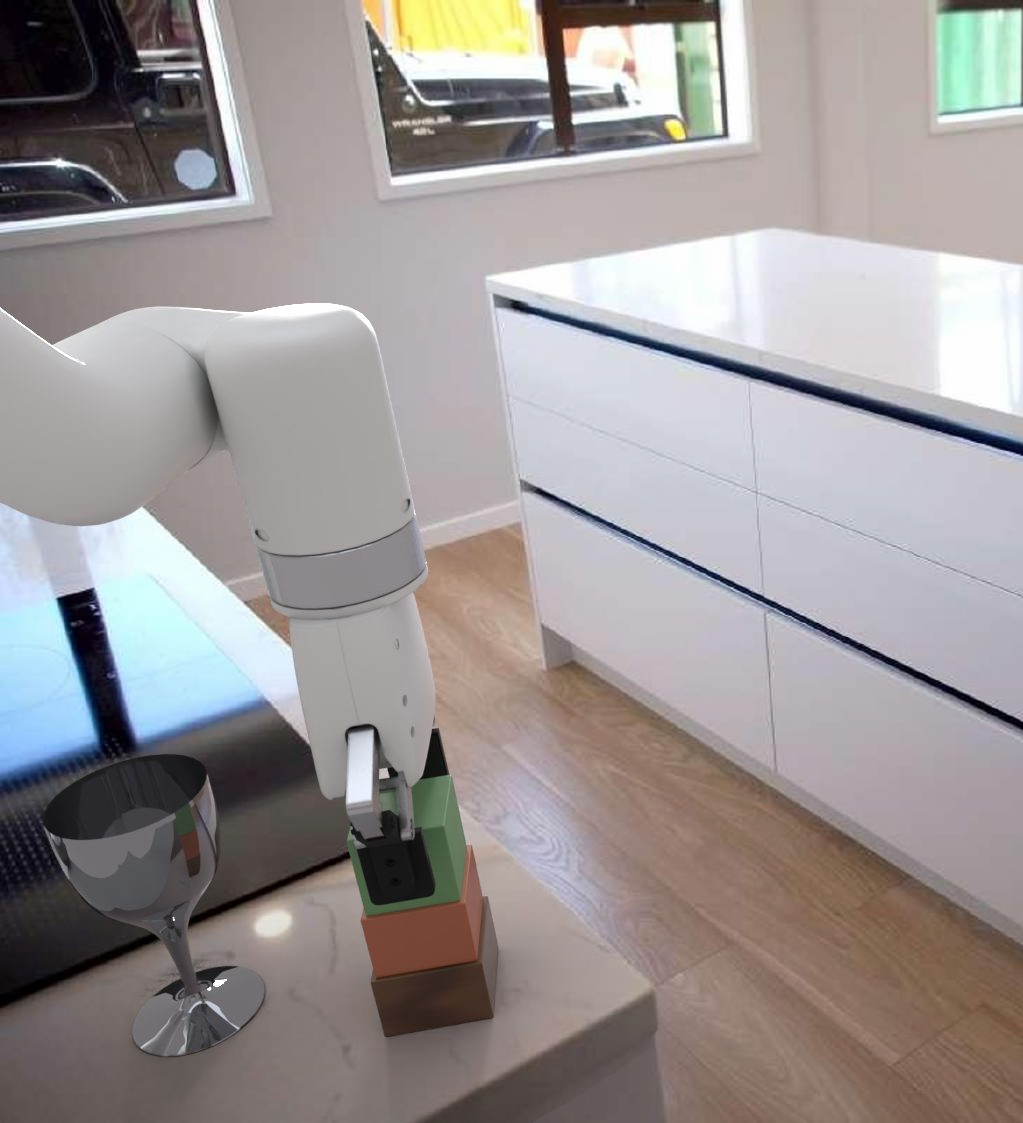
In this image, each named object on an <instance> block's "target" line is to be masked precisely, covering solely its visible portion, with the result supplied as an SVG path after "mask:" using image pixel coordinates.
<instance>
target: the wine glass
mask: <svg viewBox="0 0 1023 1123" xmlns="http://www.w3.org/2000/svg"><path fill="white" fill-rule="evenodd" d="M42 823H43V827H44V831H45V834H46V837H47V840H48V842H49V845H50V848H51V850H52V852H53V854H54V857H55V859H56V861H57V863H58V865H59V867H60V869H61V871H62V872H63V873H64V875H65V877H66V879H67V880H68V881H69V883H70V885H71V886H72V888H73V889H74V890H75V892H76V893H77V894H78V895H79V897H80V898H81V899H82V900H83V902H84V903H85V904H86V905H87V906H89V907H90V908H91V909H92V910H93V911H94V912H96V913H97V914H99V915H101V916H103V917H105V918H107V919H110V920H112V921H114V922H119V923H123V924H126V925H130V926H132V927H133V926H134V927H137V928H141V929H144V930H145V931H148V932H149V933H152V934H153V935H155V936H156V937H157V938H158V939H160V940H161V942H162V943H163V945H164V946H165V948H166V950H167V951H168V954H169V955H170V957H171V959H172V961H173V963H174V965H175V967H176V969H177V971H178V974H179V977H180V978H178V979H175V981H173V982H171V983H169V984H167V985H166V986H164V987H163V988H162V989H160V990H158V992H156V993H155V994H154V995H153V996H151V998H150V999H148V1000H147V1001H146V1002H145V1004H144V1005H143V1006H142V1007H141V1008H140V1010H139V1011H138V1013H137V1014H136V1016H135V1018H134V1020H133V1024H132V1027H131V1028H132V1029H131V1036H132V1042H133V1043H134V1044H135V1045H136V1047H137V1048H138V1049H140V1050H141V1051H142V1052H144V1053H147V1054H148V1055H152V1056H156V1057H179V1056H186V1055H189V1054H194V1053H197V1052H200V1051H203V1050H206V1049H209V1048H211V1047H213V1046H216V1045H218V1044H219V1043H221V1042H224V1041H225V1040H227V1039H229V1038H230V1037H232V1036H233V1035H234V1034H236V1033H238V1032H239V1031H240V1030H242V1028H244V1027H245V1026H246V1025H247V1024H248V1023H249V1022H250V1021H251V1020H252V1019H253V1018H254V1017H255V1016H256V1014H257V1013H258V1011H259V1010H260V1008H261V1007H262V1005H263V1002H264V1001H265V1000H264V999H265V996H266V984H265V983H264V980H263V978H262V977H261V976H260V975H259V974H258V973H256V972H255V971H254V970H252V969H249V968H246V967H243V966H238V965H237V966H236V965H221V966H214V967H210V968H209V967H208V968H205V969H201V970H198V971H196V970H195V967H194V963H193V959H192V955H191V949H190V942H189V935H188V927H189V922H190V919H191V917H192V914H193V911H194V909H195V908H196V906H197V905H198V903H199V902H200V900H201V899H202V897H203V895H204V894H205V893H206V891H207V890H208V888H209V887H210V885H211V883H212V881H213V880H214V878H215V875H216V873H217V871H218V868H219V865H220V860H221V854H222V853H221V848H222V847H221V824H220V814H219V808H218V804H217V800H216V795H215V791H214V789H213V785H212V782H211V779H210V776H209V774H208V771H207V768H206V766H205V765H204V764H203V763H202V762H201V761H200V760H198V759H196V758H195V757H191V756H188V755H183V754H177V753H176V754H175V753H170V754H169V753H160V754H150V755H143V756H138V757H133V758H129V759H126V760H121V761H119V762H115V763H113V764H109V765H107V766H104V767H102V768H99V769H96V770H95V771H93V772H90V773H88V774H86V775H84V776H82V777H81V778H79V779H78V780H76V781H74V782H72V783H71V784H69V785H68V786H66V787H65V788H63V789H62V790H61V791H60V792H59V793H57V795H56V796H54V798H53V799H52V800H51V801H50V802H49V803H48V805H47V806H46V808H45V810H44V812H43V816H42Z"/></svg>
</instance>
